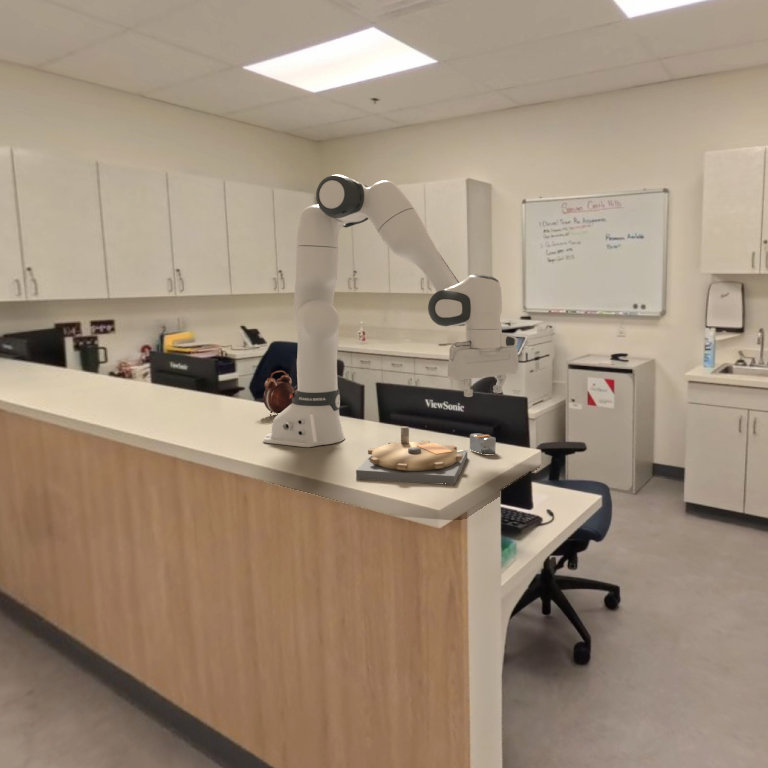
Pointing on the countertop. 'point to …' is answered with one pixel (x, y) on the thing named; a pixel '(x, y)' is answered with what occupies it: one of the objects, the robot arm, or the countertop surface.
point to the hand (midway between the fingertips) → (483, 394)
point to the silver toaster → (482, 443)
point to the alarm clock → (278, 393)
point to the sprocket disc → (414, 454)
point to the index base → (412, 473)
